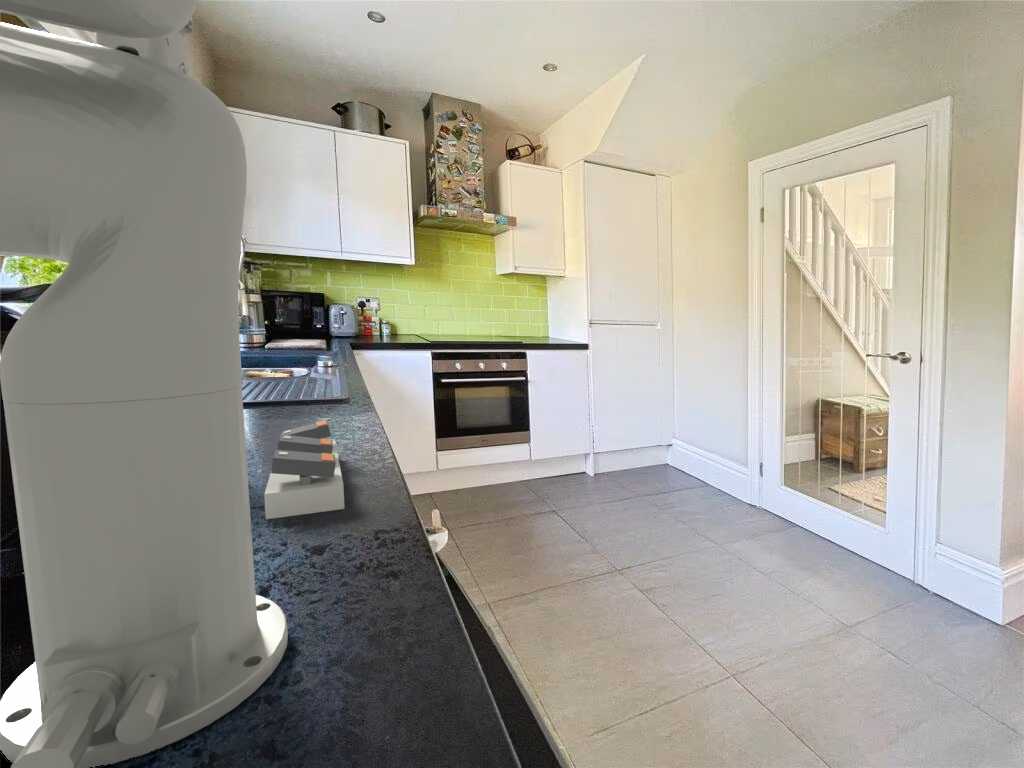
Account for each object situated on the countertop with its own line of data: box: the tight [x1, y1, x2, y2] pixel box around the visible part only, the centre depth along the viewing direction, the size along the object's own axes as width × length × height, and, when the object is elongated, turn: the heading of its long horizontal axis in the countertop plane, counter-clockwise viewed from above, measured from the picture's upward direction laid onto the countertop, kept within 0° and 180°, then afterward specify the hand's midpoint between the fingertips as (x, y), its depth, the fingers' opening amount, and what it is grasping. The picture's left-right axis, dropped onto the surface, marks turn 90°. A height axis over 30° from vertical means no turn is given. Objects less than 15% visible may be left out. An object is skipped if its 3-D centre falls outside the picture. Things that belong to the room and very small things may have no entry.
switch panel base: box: [264, 439, 345, 520], centre depth 60 cm, size 22×7×4 cm, turn 22°
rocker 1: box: [280, 419, 332, 439], centre depth 67 cm, size 4×6×2 cm, turn 112°
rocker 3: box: [270, 449, 336, 478], centre depth 52 cm, size 4×6×2 cm, turn 112°
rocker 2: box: [276, 434, 333, 454], centre depth 59 cm, size 4×6×2 cm, turn 112°
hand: (158, 214), depth 44 cm, fingers closed
